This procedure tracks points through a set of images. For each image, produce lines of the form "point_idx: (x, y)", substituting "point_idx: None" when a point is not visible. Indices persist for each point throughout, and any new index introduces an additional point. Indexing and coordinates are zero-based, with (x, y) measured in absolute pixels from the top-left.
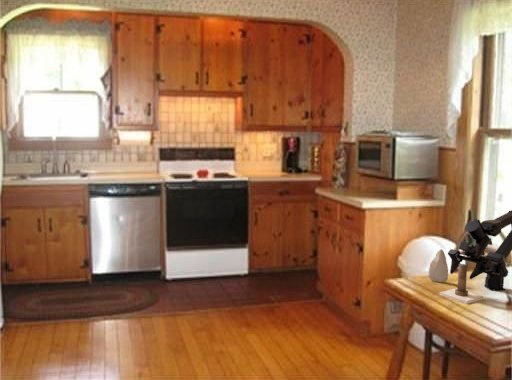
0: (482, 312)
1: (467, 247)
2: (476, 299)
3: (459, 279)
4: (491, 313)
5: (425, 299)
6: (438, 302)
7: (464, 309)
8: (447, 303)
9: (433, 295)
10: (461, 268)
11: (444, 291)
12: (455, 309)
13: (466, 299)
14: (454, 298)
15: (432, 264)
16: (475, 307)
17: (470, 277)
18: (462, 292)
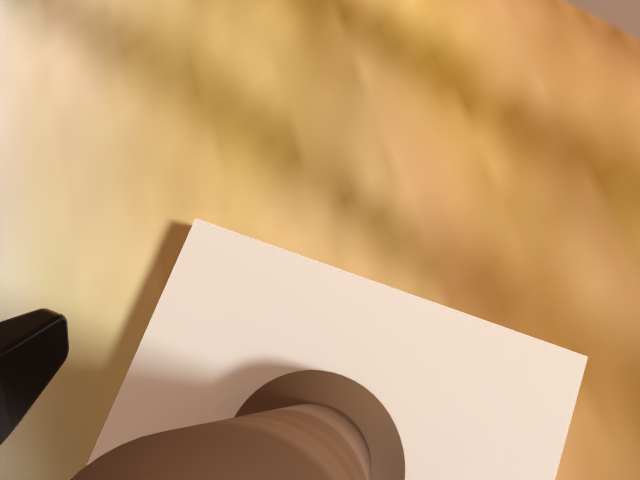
0: (25, 84)
1: None
2: (119, 405)
3: (321, 416)
4: None
5: (626, 97)
6: (468, 93)
7: (185, 58)
8: (379, 122)
9: (627, 299)
10: (232, 426)
11: (552, 444)
12: (257, 6)
13: (208, 277)
14: (353, 277)
15: None
16: (103, 182)
17: (34, 314)
18: (278, 386)
